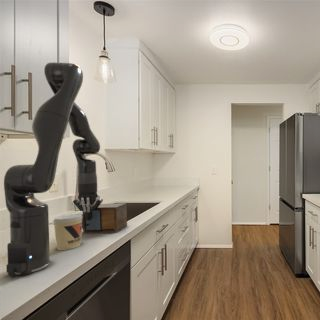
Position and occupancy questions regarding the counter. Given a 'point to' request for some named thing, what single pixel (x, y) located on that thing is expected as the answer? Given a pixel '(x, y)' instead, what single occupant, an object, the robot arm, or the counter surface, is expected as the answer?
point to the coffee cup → (68, 231)
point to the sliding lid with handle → (92, 221)
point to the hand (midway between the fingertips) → (88, 219)
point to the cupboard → (111, 218)
